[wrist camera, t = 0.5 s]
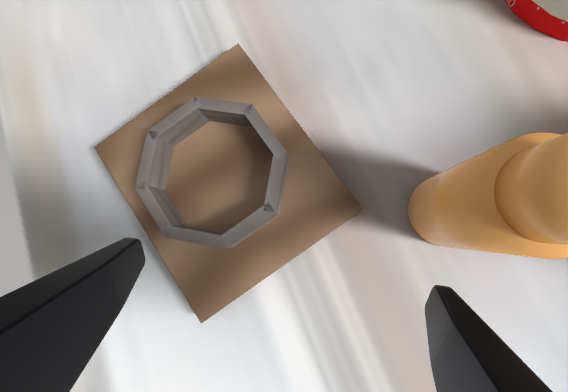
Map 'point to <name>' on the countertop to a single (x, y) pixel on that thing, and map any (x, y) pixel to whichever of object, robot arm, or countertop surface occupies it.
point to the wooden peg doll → (500, 200)
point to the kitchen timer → (544, 16)
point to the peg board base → (225, 182)
